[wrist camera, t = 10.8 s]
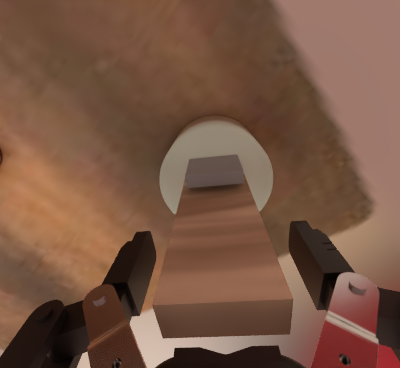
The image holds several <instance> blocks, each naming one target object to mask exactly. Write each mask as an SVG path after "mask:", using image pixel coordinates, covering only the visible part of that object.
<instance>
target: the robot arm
mask: <svg viewBox="0 0 400 368" xmlns="http://www.w3.org/2000/svg"><path fill="white" fill-rule="evenodd" d="M289 251H290V254H291V256H292V258H293V260H294V262H295V264H296V267H297V269H298V271H299V273H300V275H301V277H302V279H303V281H304V284H305V286H306V288H307V290H308V292H309V294H310V296H311V298H312V300H313V302H314V305H315V307H316V309H317V310H326V311H327V314H326V318H325V320H324V324H323V327H322V331H321V334H320V338H319V341H318V344H317V348H316V351H315V355H314V358H313V362H312V365H311V368H377V358H378V344H381V345H385V346H388V347H391V348H392V350H393V351H394V353H395V355H396V356H397V358H398V359H399V361H400V292H397V291H392V290H387V289H382V288H379V287H377V286H376V285H375V284H374V283H373V282H372V281H371V280H369V279H368V278H366V277H364V276H362V275H360V274H357V273H355V272H354V271H353V269H352V268H351V267H350V266H349V264H348V263H347V261H346V260H345V259H344V257H343V256H342V255H341V254H340V252H339V251H338V250H337V248H336V247H335V246H334V245H333V244H332V242H331V241H330V239H329V238H328V237H327V235H325V234H324V233H322V232H321V231H319V230H318V229H312V228H311V227H310V225H309V224H308V222H307V221H292V222H291V223H290V232H289ZM155 262H156V250H155V246H154V242H153V239H152V235H151V232H150V231H144V232H136V234H135V236H134V238H133V240H132V241H128V242H127V243H126V244H125V245H124V246H123V247H122V248H121V249H120V251H119V253H118V255H117V257H116V259H115V260H114V263H113V264H112V266H111V268H110V270H109V272H108V274H107V276H106V277H105V279H104V281H103V283H102V285H100V286H98V287H96V288H94V289H93V290H91V291H90V292H89V293H88V294H87V295H86V297H85V299H84V300H82V301H80V302H77V303H74V304H71V305H68V306H64V305H63V303H62V302H61V301H59V300H52V301H49V302H46V303H44V304H43V305H41V306H39V307H38V308H37V309H36V310H35V311H33V313H32V314H31V315H30V316H29V317H28V319H27V320H26V322H25V323H24V324H23V326H22V327H21V329H20V330H19V331H18V333H17V334H16V336H15V337H14V338H13V340H12V341H11V343H10V344H9V346H8V347H7V348H6V350H5V351H4V353H3V354H2V355H1V357H0V368H77V365H78V363H79V360H80V358H81V356H82V353H85V352H87V351H88V356H89V361H90V367H91V368H147V367H146V365H145V362H144V359H143V357H142V354H141V352H140V349H139V347H138V344H137V342H136V339H135V337H134V334H133V332H132V329H131V327H130V324H129V323H130V320H131V317H132V316H140V313H141V310H142V306H143V303H144V299H145V296H146V293H147V289H148V286H149V282H150V279H151V276H152V272H153V269H154V266H155ZM156 368H306V367H305V366H303V365H302V364H300V363H298V362H297V361H295V360H293V359H291V358H289V357H286V356H283V355H281V354H280V350H279V347H278V346H251V347H248V348H245V349H242V350H240V351H236V352H233V353H231V354H226V355H225V354H221V353H217V352H214V351H210V350H207V349H203V348H200V347H197V348H175V350H174V357H173V358H170V359H168V360H166V361H164V362H162V363H161V364H159V365H158V366H157V367H156Z"/></svg>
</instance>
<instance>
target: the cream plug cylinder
mask: <svg viewBox="0 0 400 368" xmlns="http://www.w3.org/2000/svg"><path fill="white" fill-rule="evenodd" d="M243 172H244V174H243ZM244 175H245V177H246V180H247V183H248V185H249V188H250V190H251V193H252V195H253V198H254V200H255V203H256V205H257V208H258V211H259V212H260V211H261V210H262V208H263V207H264V206H265V204H266V202H267V201H268V199H269V196H270V194H271V191H272V187H273V170H272V165H271V163H270V160H269V158H268V156H267V154H266V152H265V151H264V150H263V148H262V147H261V146H260V144H259V143H258V142H257V141H256V140H255V138H254V137H253V136H252V135H251V133H250V132H249V131H248V130H247V129H246V128H245V127H244V126H243V125H242V124H241V123H239V122H238V121H236V120H234V119H232V118H229V117H226V116H220V115H209V116H204V117H201V118H198V119H196V120H194V121H192V122H191V123H189V124H188V125H187V126H185V127H184V128H183V129H182V131H181V132H180V133H179V135H178V136H177V138H176V140H175V141H174V143H173V145H172V146H171V148H170V150H169V151H168V153H167V155H166V156H165V159H164V161H163V163H162V166H161V170H160V189H161V193H162V196H163V198H164V201H165V202H166V204H167V206H168V207H169V209H170V210H171V211H172V212H173V213H174V214H175V215H176V212H177V208H178V204H179V200H180V196H181V192H182V189H183V185H184V181H185V177H186V184H187V188H195V187H207V186H218V185H230V184H242V183H244Z"/></svg>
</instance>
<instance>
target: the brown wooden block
mask: <svg viewBox="0 0 400 368" xmlns="http://www.w3.org/2000/svg"><path fill="white" fill-rule="evenodd" d="M243 174H244V172H243ZM152 306H153V309H154V312H155V315H156V318H157V321H158V324H159V327H160V330H161V334H162V337H163V338H184V337H185V338H187V337H218V336H250V335H280V334H281V335H282V334H290V329H291V318H292V306H293V297H292V295H291V292H290V290H289V287H288V285H287V282H286V280H285V277H284V274H283V272H282V269H281V267H280V264H279V262H278V259H277V256H276V254H275V251H274V249H273V246H272V244H271V241H270V239H269V236H268V234H267V231H266V228H265V226H264V223H263V221H262V218H261V216H260V213H259V211H258V208H257V205H256V203H255V200H254V198H253V195H252V193H251V190H250V188H249V185H248V183H247V180H246V177H245V175H244V183H242V184H230V185H218V186H207V187H195V188H187V184H186V177H185V181H184V185H183V189H182V192H181V196H180V200H179V204H178V208H177V212H176V216H175V220H174V224H173V227H172V231H171V235H170V239H169V243H168V247H167V251H166V255H165V259H164V262H163V266H162V270H161V274H160V278H159V282H158V286H157V290H156V294H155V297H154V301H153V305H152Z"/></svg>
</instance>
